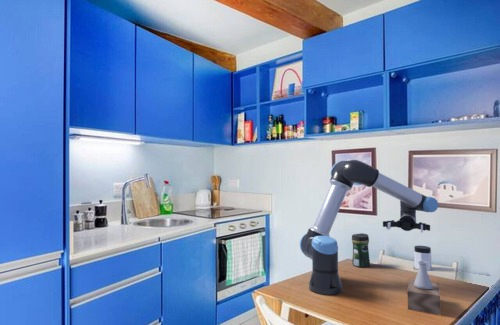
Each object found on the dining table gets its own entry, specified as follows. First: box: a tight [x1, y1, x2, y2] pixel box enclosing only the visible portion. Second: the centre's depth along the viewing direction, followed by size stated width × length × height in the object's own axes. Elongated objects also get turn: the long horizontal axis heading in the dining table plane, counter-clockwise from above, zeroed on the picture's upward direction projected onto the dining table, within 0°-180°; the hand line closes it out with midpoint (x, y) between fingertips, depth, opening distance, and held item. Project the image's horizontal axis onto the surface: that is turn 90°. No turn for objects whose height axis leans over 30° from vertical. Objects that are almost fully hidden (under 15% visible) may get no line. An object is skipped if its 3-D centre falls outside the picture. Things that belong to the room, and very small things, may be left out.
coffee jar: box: [351, 232, 371, 268], centre depth 185 cm, size 10×8×19 cm
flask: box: [414, 261, 433, 289], centre depth 128 cm, size 7×7×10 cm
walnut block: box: [406, 278, 442, 316], centre depth 128 cm, size 11×16×7 cm
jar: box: [413, 245, 432, 272], centre depth 178 cm, size 9×8×12 cm
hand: (404, 227), depth 143 cm, fingers open, 13 cm apart
